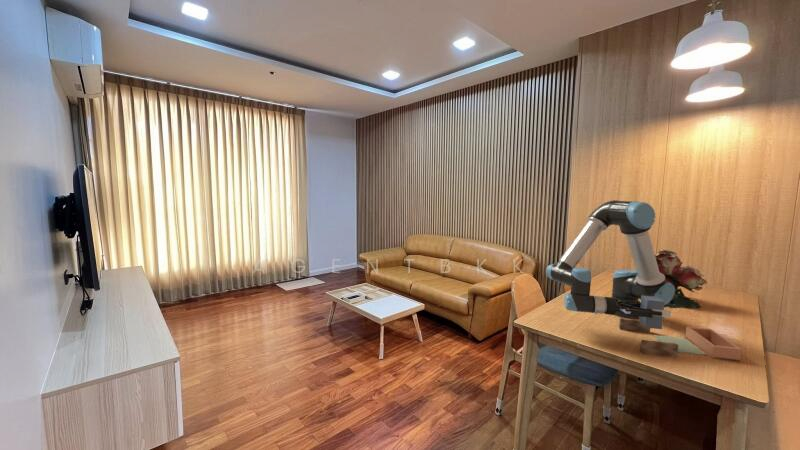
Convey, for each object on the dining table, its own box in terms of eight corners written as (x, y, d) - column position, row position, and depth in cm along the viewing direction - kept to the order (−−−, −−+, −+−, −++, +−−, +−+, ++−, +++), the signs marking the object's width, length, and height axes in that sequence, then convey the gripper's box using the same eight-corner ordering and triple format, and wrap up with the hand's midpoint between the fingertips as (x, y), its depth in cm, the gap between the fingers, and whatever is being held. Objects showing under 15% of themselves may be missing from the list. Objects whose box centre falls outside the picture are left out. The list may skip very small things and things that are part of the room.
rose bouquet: (711, 308, 179) (718, 255, 176) (658, 308, 179) (664, 255, 176) (672, 293, 205) (677, 246, 201) (626, 292, 205) (631, 246, 201)
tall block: (654, 323, 141) (657, 296, 139) (661, 329, 135) (664, 301, 133) (638, 321, 142) (641, 295, 141) (644, 327, 137) (647, 300, 135)
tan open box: (709, 340, 142) (711, 329, 142) (740, 361, 125) (741, 349, 125) (685, 337, 145) (686, 326, 144) (711, 358, 128) (713, 346, 127)
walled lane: (648, 331, 151) (649, 320, 150) (676, 357, 128) (678, 345, 127) (618, 328, 154) (619, 317, 154) (641, 353, 131) (642, 341, 131)
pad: (685, 339, 143) (685, 338, 143) (705, 355, 130) (705, 354, 130) (653, 335, 146) (653, 335, 146) (670, 351, 133) (670, 350, 133)
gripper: (596, 305, 152) (654, 311, 146) (610, 322, 134) (677, 329, 128) (597, 290, 151) (655, 294, 145) (612, 304, 133) (679, 310, 127)
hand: (665, 310), depth 136 cm, fingers closed on tall block, 6 cm apart
